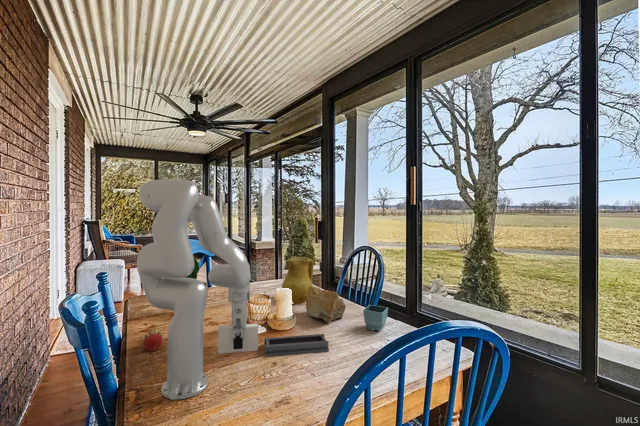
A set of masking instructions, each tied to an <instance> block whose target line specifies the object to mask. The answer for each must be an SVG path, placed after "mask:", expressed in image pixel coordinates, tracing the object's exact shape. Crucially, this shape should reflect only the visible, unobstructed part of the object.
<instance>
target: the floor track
mask: <svg viewBox="0 0 640 426" xmlns="http://www.w3.org/2000/svg"><path fill="white" fill-rule="evenodd" d="M263 342H264V343H263V345H264V347H263V348H264V357H265V358H267V357H268V358H269V357H278V356H293V355H301V354H302V355H304V354H313V353H315V354H317V353H327V352H329V351H330V348H329V341H328V340H327V339H325V334H324V333H318V334H303V335H301V334H300V335H288V336H287V335H285V336H277V337H276V336H273V337H264V341H263Z"/></svg>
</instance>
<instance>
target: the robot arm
mask: <svg viewBox="0 0 640 426" xmlns="http://www.w3.org/2000/svg"><path fill="white" fill-rule="evenodd" d="M199 193H200V192H199V188H198V186H197V184H196V183H195V182H193V181H191V180H188V179H179V178H178V179H173V178H171V179H152V180H148V181H146V182H144V183H143V184H142V185H141V186H140V188H139V192H138V197H139V200H140V203H141V204H142V205H143V206H144V207H145V208H146V209H148V210H149V211H151V212H154V213H155V214H156V216H155V217H154V220H153V222H152V226H151V233H152V238H153V242H151V243H147V244H146V245H144V246H143V247H142V248H141V249H140V250H139V252H138V254H137V258H136V268H137V269H136V270H137V273H138V276H139V279H140V280H139V281H140V282H141V285H142V288H143V293H144V294H145V297H146V299H147V301H148V303H149V304H150V305H151V306H153V307H155V308H158V309H161V310H167V311H172V312H174V315H173V317H172V318H171V320H170V321H169V324H168V328H167V375H166V376H167V380H166V381H164V382H163V383H162V385H161V387H160V391H161V394H162V396H163V397H164V398H167V399H170V400H172V401H174V400H183V399H184V400H185V399H188V398H192V397H195V396H197V395H199V394H201V393H202V392H203V391H205V390H206V388H208V386H209V377H208V376H207V374H204V330H205V329H204V328H205V327H204V325H205V322H204V321H205V311H206V305H207V301H208V294H209V291H208V286H207V287H206V285H205V284H204V283H203V282H204V281H202V280H200V279H197V278H196V279H193V278H185V277H187V276H189V275H190V274H191V273H192V271H193V270H194V257H195V256H194V253H193V250H192V246H191V242H190V238H189V234H188V227H187V225H188V224H187V223H192V226H193V229H194V230H195V233H196V235H197V239H198V241H199V244H200V246H201V248H202V249H204V250H205V251H207V252H208V253H211V254H213V255H214V256H217V257H219V258H220V259H222V260H223V261H224V262H226V263H225V264H216V265H214V266H213V267H211V269H210V270H209V272H208V275H207V278H208V282H209V283H210V284H211V285H212V286H215V287H218V288H219V287H221V288H227V289H228V302H229V303H231V325H232V329H233V330H234V338H233V349H242V348H243V337H242V329H244V330H245V329H246V327H247V324H248V323H247V321H248V320H247V319H248V302H249V301H250V296H251V295H250V291H251V290H250V289H251V288H250V287H251V285H250V283H251V282H250V281H251V276H252V275H251V266H250V264H249V262H248V258H247V257H246V255H245V253H244V252H243V250H242V249H241V248H239V247H238V245H237V244H236V243H235V242H234V241H233V240H231V238H229V237H228V235H227V231H226V229H225V225H224V224H223V223H224V222H223V220H222V217H221V213H220V210H219V207H218V205H217V202H216V200H215V199H214V198H213V197H211V196H208V195H204V194H203V195H202V194H201V195H200V194H199ZM193 256H194V257H193ZM240 327H241V329H240ZM240 331H241V333H240Z"/></svg>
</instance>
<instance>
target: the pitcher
mask: <svg viewBox="0 0 640 426" xmlns="http://www.w3.org/2000/svg"><path fill="white" fill-rule="evenodd" d="M287 262H288V270H287V274H286V275H285V278H284V279H283V281H282V284H281V289H282V288H289V289H291V290H292V301H293V303H294V304H300V305H302V304H301V303H305V302H306V299H307V297H308V291H309V287H310V286H313V275H314V260H313V259H311V258H309V257H304V256H291V257H290V258H289V259H287Z"/></svg>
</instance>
